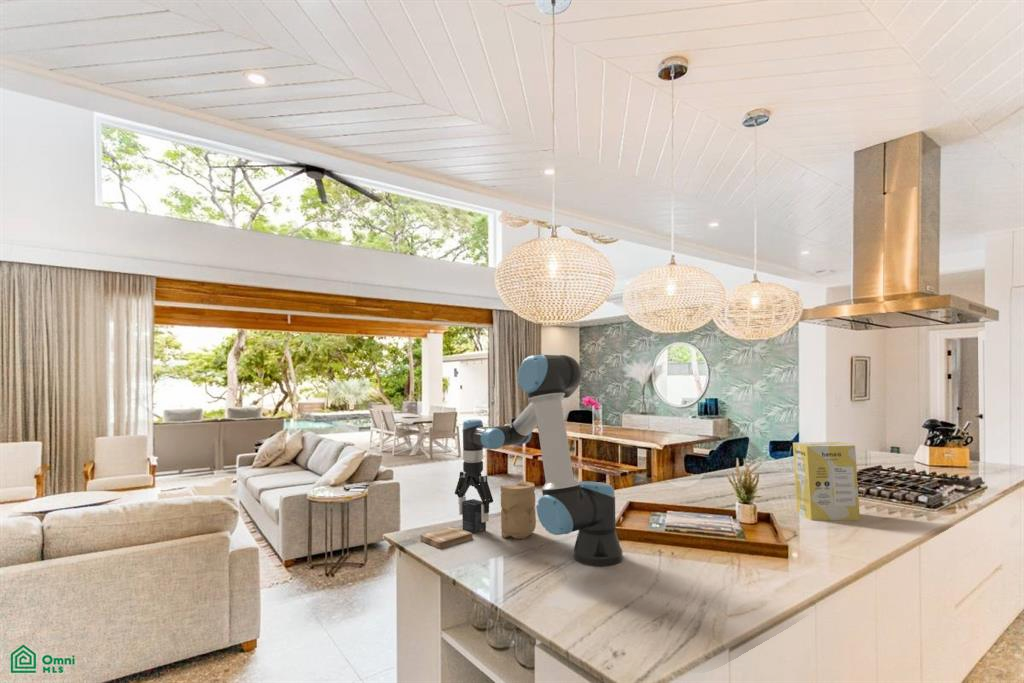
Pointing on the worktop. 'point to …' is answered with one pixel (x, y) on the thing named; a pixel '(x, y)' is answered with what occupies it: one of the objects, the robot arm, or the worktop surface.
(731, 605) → the worktop surface
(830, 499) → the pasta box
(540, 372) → the robot arm
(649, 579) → the worktop surface
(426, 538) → the board
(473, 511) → the box
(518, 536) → the container
